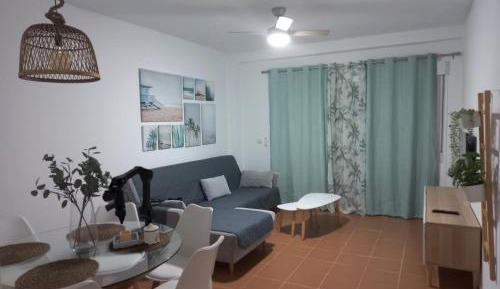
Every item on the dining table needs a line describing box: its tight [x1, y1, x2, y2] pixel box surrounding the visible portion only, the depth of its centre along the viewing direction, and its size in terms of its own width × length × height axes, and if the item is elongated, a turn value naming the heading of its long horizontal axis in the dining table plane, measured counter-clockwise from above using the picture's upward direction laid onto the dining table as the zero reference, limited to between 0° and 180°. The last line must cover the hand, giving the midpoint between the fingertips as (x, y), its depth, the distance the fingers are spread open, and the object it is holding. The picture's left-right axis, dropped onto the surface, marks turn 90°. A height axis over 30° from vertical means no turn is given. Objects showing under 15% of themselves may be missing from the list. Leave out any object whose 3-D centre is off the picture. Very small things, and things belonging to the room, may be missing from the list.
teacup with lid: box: [142, 223, 160, 244], centre depth 203 cm, size 12×9×12 cm
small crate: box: [119, 229, 132, 242], centre depth 202 cm, size 6×6×6 cm
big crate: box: [112, 231, 140, 248], centre depth 202 cm, size 14×14×4 cm
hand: (121, 221), depth 207 cm, fingers open, 9 cm apart
